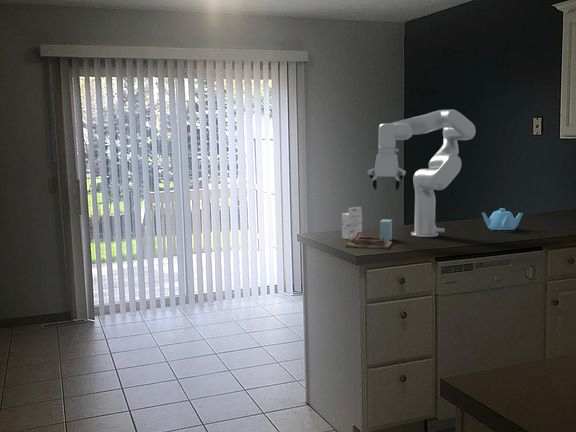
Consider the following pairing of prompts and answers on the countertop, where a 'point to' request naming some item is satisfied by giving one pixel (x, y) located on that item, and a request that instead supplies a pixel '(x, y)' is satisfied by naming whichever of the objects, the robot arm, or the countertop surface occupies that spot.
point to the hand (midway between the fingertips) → (386, 189)
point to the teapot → (502, 220)
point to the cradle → (369, 242)
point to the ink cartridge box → (352, 223)
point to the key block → (386, 229)
